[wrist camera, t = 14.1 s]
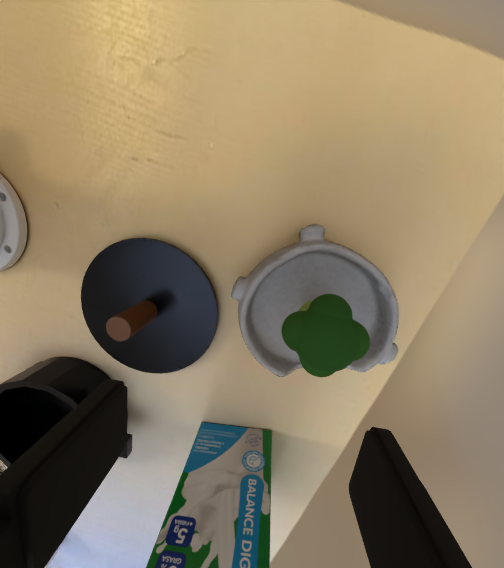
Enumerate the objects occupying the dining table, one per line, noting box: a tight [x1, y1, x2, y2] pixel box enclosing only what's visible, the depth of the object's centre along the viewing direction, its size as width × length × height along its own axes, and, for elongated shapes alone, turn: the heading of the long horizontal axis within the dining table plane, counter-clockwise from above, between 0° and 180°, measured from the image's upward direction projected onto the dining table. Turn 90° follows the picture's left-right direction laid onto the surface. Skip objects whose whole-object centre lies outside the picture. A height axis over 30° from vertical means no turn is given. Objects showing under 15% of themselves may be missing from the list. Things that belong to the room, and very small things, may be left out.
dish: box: [231, 224, 398, 377], centre depth 23 cm, size 14×14×5 cm
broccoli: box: [281, 294, 370, 377], centre depth 17 cm, size 6×6×6 cm
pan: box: [0, 357, 132, 467], centre depth 29 cm, size 15×20×5 cm
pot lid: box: [81, 238, 218, 373], centre depth 24 cm, size 16×16×6 cm
